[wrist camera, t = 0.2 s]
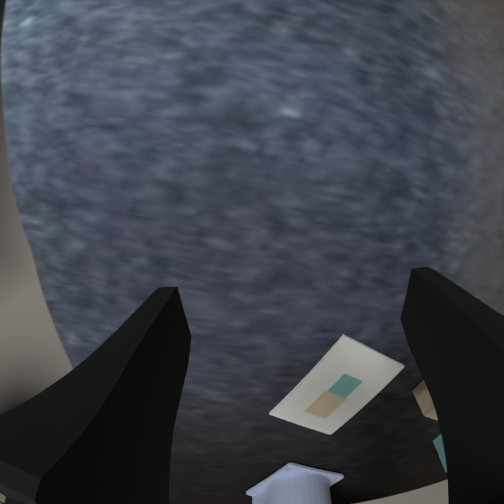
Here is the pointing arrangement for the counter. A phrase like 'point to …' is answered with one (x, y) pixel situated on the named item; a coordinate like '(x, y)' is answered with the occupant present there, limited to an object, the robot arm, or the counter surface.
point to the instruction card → (337, 386)
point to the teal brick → (440, 450)
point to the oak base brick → (425, 401)
